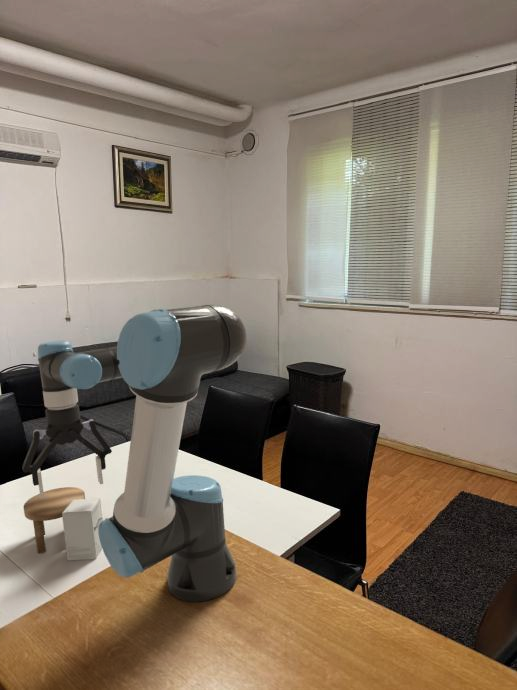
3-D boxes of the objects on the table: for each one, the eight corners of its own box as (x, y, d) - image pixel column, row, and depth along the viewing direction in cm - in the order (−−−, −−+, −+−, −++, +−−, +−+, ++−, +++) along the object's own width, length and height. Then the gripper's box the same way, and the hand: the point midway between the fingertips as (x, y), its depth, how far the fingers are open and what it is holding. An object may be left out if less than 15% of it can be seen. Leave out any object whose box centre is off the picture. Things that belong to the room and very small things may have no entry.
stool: (92, 543, 124) (87, 503, 123) (28, 560, 118) (22, 519, 117) (86, 518, 138) (82, 482, 136) (29, 533, 132) (24, 495, 130)
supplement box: (96, 559, 117) (90, 511, 115) (66, 561, 117) (60, 512, 115) (106, 543, 124) (101, 497, 122) (78, 544, 124) (72, 498, 123)
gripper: (111, 393, 123) (120, 471, 127) (3, 411, 112) (15, 497, 115) (118, 399, 117) (126, 481, 120) (3, 419, 105) (16, 509, 108)
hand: (72, 489), depth 117 cm, fingers open, 13 cm apart
